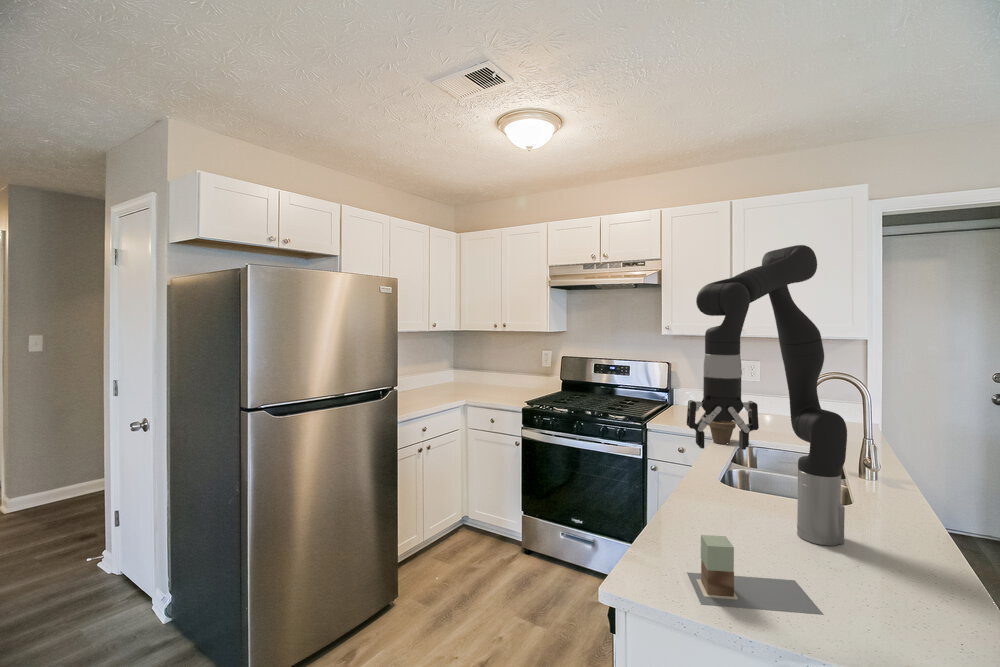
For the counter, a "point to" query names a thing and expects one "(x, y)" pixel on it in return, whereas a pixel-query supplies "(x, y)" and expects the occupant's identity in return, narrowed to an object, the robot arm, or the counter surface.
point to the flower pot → (722, 431)
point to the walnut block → (717, 582)
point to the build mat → (759, 595)
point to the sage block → (717, 553)
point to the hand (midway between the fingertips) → (721, 448)
